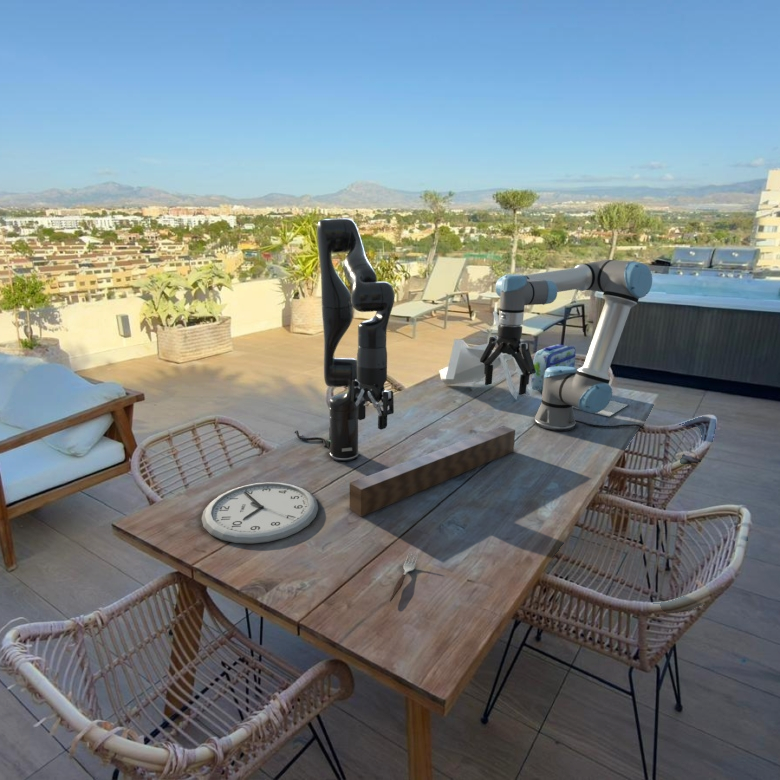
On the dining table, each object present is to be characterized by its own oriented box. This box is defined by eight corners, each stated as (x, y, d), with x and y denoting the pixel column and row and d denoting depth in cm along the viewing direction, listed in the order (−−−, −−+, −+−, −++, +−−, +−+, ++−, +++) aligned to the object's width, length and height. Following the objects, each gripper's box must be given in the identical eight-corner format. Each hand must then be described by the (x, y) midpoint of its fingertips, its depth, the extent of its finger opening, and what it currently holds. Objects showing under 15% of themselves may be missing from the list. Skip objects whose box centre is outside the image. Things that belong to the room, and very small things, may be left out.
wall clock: (315, 535, 126) (186, 539, 123) (315, 541, 126) (187, 545, 123) (320, 478, 154) (216, 480, 152) (320, 483, 155) (216, 485, 152)
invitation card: (608, 416, 214) (573, 407, 224) (608, 416, 214) (573, 408, 224) (628, 404, 229) (594, 396, 238) (628, 405, 229) (594, 397, 238)
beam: (501, 446, 183) (503, 425, 180) (513, 451, 179) (515, 429, 177) (349, 509, 141) (349, 482, 139) (361, 516, 137) (361, 489, 135)
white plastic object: (461, 429, 252) (437, 405, 227) (444, 352, 274) (420, 323, 250) (535, 404, 240) (518, 377, 215) (510, 326, 262) (492, 293, 237)
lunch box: (547, 397, 237) (552, 352, 231) (526, 391, 245) (531, 348, 238) (574, 386, 255) (580, 344, 249) (554, 381, 262) (559, 340, 256)
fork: (383, 601, 106) (384, 593, 106) (408, 557, 120) (408, 550, 120) (396, 605, 105) (396, 596, 105) (419, 560, 120) (419, 552, 119)
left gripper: (342, 359, 133) (343, 419, 138) (378, 371, 123) (378, 435, 128) (365, 355, 138) (365, 413, 143) (402, 366, 128) (400, 428, 132)
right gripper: (472, 320, 171) (468, 382, 178) (537, 332, 154) (530, 400, 160) (486, 318, 176) (482, 378, 182) (551, 329, 158) (544, 396, 165)
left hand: (371, 423), depth 135 cm, fingers open, 8 cm apart
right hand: (504, 389), depth 171 cm, fingers open, 13 cm apart
